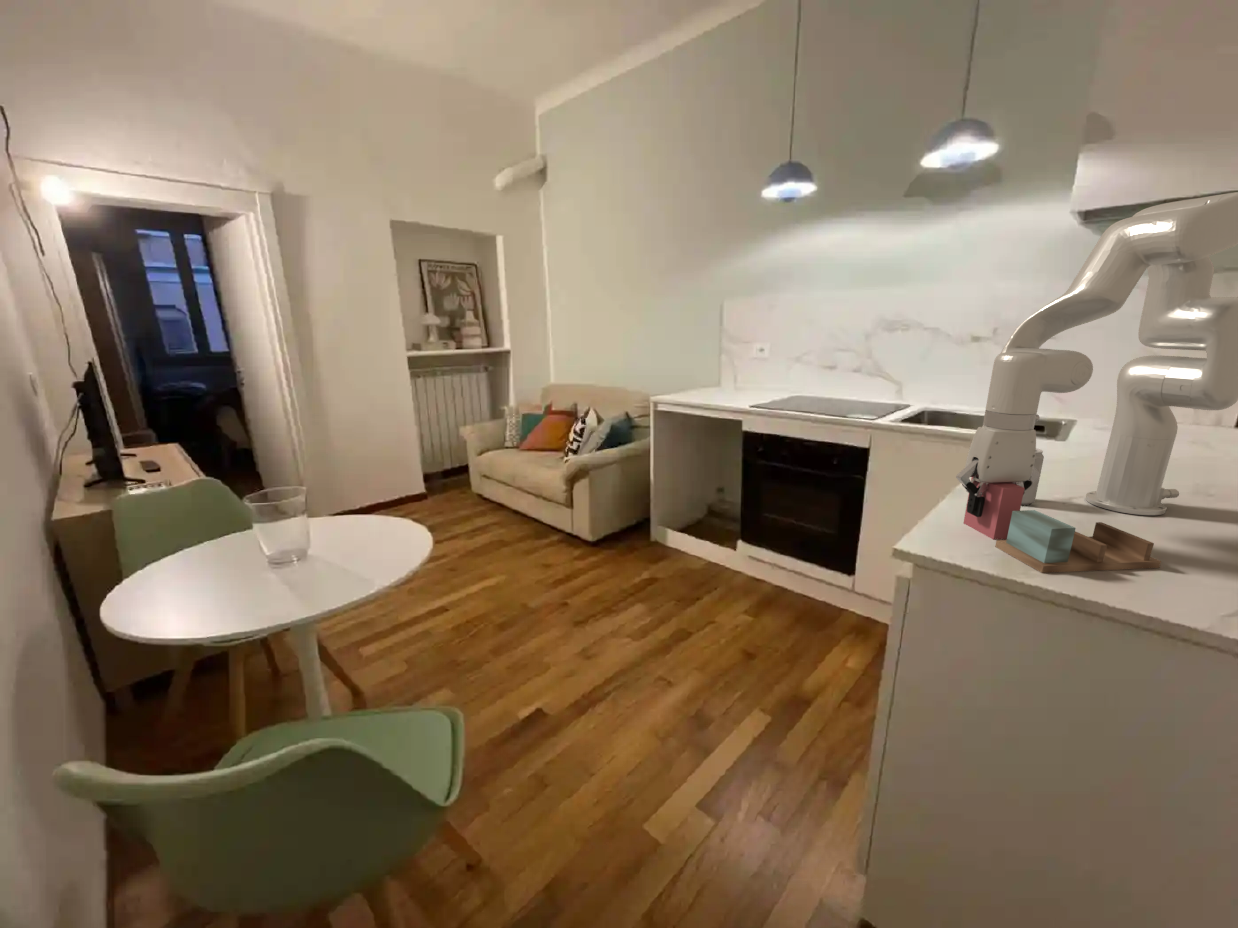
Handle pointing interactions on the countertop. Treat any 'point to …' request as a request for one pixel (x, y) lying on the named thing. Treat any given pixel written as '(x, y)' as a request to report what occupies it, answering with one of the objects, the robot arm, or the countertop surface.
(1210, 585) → the countertop surface
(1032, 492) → the beverage can
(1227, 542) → the countertop surface
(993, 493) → the dusty red block
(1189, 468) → the countertop surface
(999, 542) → the rack
